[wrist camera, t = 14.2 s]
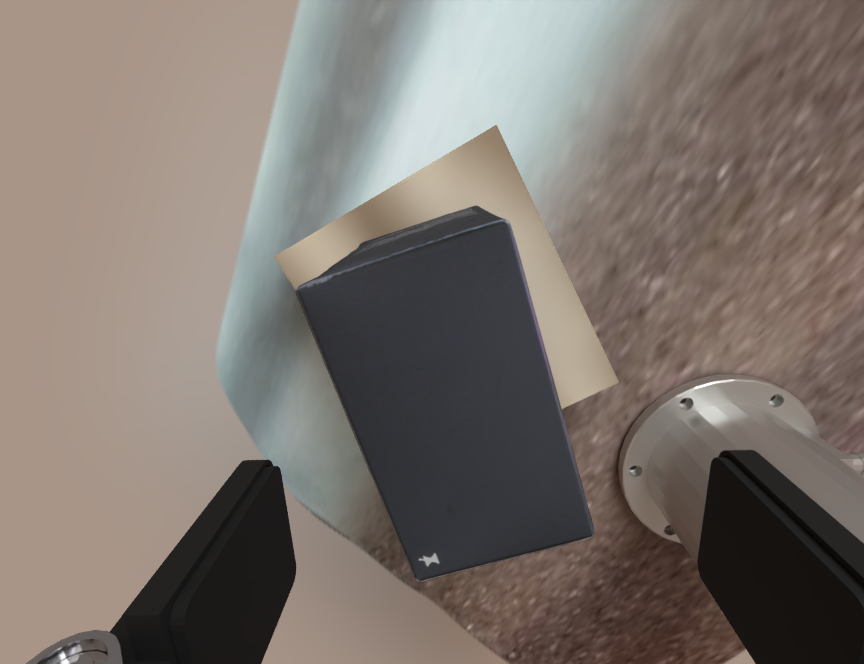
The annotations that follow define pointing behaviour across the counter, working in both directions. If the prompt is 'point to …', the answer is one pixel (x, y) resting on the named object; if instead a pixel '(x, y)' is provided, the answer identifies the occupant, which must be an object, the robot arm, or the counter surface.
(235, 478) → the robot arm
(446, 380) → the small box
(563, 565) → the counter surface
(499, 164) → the birch block
